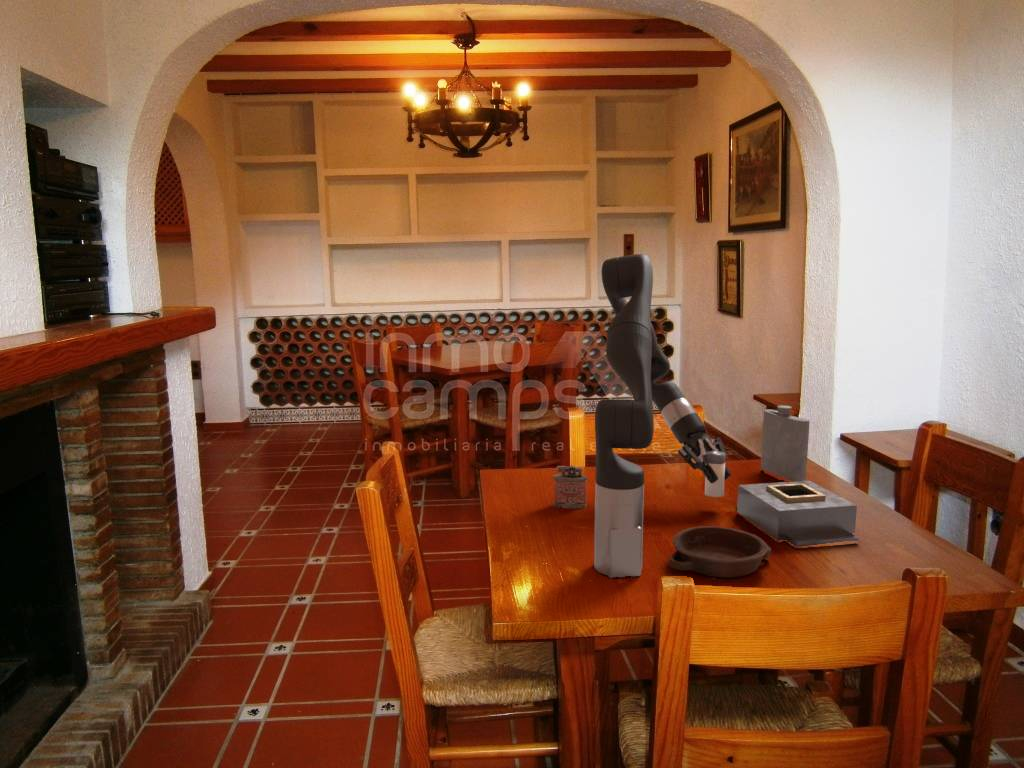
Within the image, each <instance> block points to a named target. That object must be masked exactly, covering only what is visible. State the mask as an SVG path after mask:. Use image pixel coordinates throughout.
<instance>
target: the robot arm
mask: <svg viewBox="0 0 1024 768" xmlns="http://www.w3.org/2000/svg"><path fill="white" fill-rule="evenodd" d="M601 265H602V266H601V281H602V285H603V290H604V292H605V296H606V297H607V300H608V301H609V303H610V306H611V308H612V310H613V312H614V314H615V316H614V317H613V319H612V321H611V322H610V324H609V326H608V327H607V331H606V332H607V333H606V344H605V355H606V359H607V361H608V363H609V365H610V366H611V368H612V370H613V371H614V372H615V373H616V375H617V376H618V377H619V378H620V379H621V380H622V382H623V383H624V385H626V386H627V388H628V389H629V391H630V393H631V395H632V398H633V399H623V398H622V399H621V398H620V399H615V398H609V399H607V398H605V399H604V398H603V399H601V400H599V401H598V402H597V404H596V405H595V406H596V407H595V411H594V434H595V476H594V477H595V479H594V480H595V482H594V485H595V486H594V487H595V492H594V493H595V495H594V543H593V544H594V545H593V546H594V549H593V550H594V551H593V552H594V554H593V555H594V557H593V558H594V559H593V562H594V564H593V567H594V569H595V570H596V571H597V572H598V573H600V574H602V575H604V574H605V575H604V576H607V575H608V577H610V578H609V579H616V578H615V577H619V578H626V577H625V576H631V577H640V575H641V576H642V570H643V545H644V544H643V543H644V542H643V539H644V538H643V537H644V503H645V502H644V500H645V499H644V498H645V496H644V495H645V471H644V469H643V467H642V466H640V465H638V464H637V463H634V462H631V461H629V460H626V459H624V458H623V457H621V456H619V455H618V454H617V453H616V452H614V449H624V450H627V449H629V450H643V449H647V448H648V447H650V445H651V444H652V442H653V438H654V432H655V431H654V430H655V426H654V425H655V424H654V409H653V408H654V407H653V403H654V404H655V406H656V407H657V409H658V411H659V412H660V414H661V415H662V417H663V419H664V421H665V424H666V425H667V426H668V428H669V430H670V431H671V432H672V434H673V436H674V438H675V439H676V441H677V443H679V444H680V445H682V446H681V448H679V449H678V451H677V453H678V454H679V456H680V457H681V458H683V460H684V461H685V462H686V463H687V464H688V465H689V466H690V467H691V468H692V469H693V470H694V471H696V470H699V471H701V472H702V473H703V475H704V476H706V478H707V479H708V480H709V481H710V483H715V482H716V481H717V480H718V477H717V475H716V473H715V472H714V470H713V469H712V467H711V466H708V465H709V463H708V460H707V458H706V457H707V454H706V452H709V451H719V452H724V453H725V454H726V458H725V460H726V459H728V458H729V457H728V453H727V451H726V450H725V447H724V446H725V445H723V441H722V439H721V438H720V437H716V438H715V439H713V438H711V437H710V436H709V434H707V433H706V431H707V426H706V424H705V423H704V421H703V420H702V419H701V417H700V416H699V414H698V412H697V411H696V410H695V408H694V406H692V404H691V403H690V402H689V401H688V400H687V398H686V397H685V395H684V394H683V392H682V390H681V389H680V387H679V386H678V384H676V383H675V381H671V380H669V381H664V382H660V383H656V381H657V380H659V379H661V378H663V377H665V376H666V375H668V373H669V372H670V371H671V363H670V361H669V358H668V357H667V356H666V354H665V353H664V352H663V351H662V350H661V348H660V345H659V343H658V341H657V340H658V339H657V336H656V333H655V328H654V326H653V323H652V322H651V321H652V318H651V314H652V313H651V307H652V296H653V285H654V271H653V265H652V261H651V260H650V258H649V256H648V255H646V254H644V253H635V254H628V255H624V256H617V257H612V258H608V259H605V260H604V261H603V262H602V264H601ZM629 297H630V299H629V300H627V299H626V298H629ZM731 477H732V472H731V470H730V469H729V467H728V466H727V465H726V463H725V480H724V481H726V480H728V479H730V478H731ZM613 577H614V578H613Z"/></svg>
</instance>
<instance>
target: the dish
mask: <svg viewBox="0 0 1024 768" xmlns="http://www.w3.org/2000/svg"><path fill="white" fill-rule="evenodd" d="M672 545H673V547H674V548H675V550H676V551H675V552H673V554H671V555H670V556H669V566H670V567H671V568H672V569H674V570H677V571H692V572H695V573H698V574H700V575H704V576H708V577H714V578H738V577H743V576H748V575H750V574H752V573H754V572H756V571H757V570H758V568H760V565H761V563H762V560H765V559H768V558H769V557H771V552H772V549H771V547H770V546H769V545H768V544H767V543H766V542H765V541H764V540H763V539H762V538H761V537H759V536H757V534H753V533H750V532H748V531H744V530H740V529H736V528H731V527H726V526H725V527H724V526H712V525H711V526H710V525H709V526H707V525H706V526H704V525H703V526H693V527H689V528H687V529H682V530H680V531H679V532H678V533H677V532H676V534H675V535H674V537H673V539H672Z"/></svg>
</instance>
